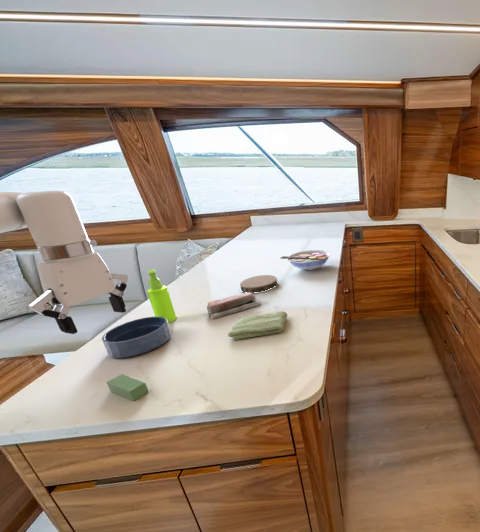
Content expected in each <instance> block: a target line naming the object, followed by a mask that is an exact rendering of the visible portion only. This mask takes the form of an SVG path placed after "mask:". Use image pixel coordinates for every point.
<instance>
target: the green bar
mask: <svg viewBox="0 0 480 532" xmlns="http://www.w3.org/2000/svg"><path fill="white" fill-rule="evenodd" d="M106 386H107V387H108V389H109V392H110V393H113V394H116V395H118V396H119V397H120V396H121V397H123V398H125V399H128V400H130V401H133V402H135V401H137V400H138V399H140V398H141V397H143V396H145V395H146V394H148V393H149V389H148V386H147V384H146V382H144V381H143V380H139V379H137V378H133V377H131V376H128V375H125V374H123V373H121V374H119V375H117V376H115V377H114V378H112V379H110V380H108V381H106Z"/></svg>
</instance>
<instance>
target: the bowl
mask: <svg viewBox="0 0 480 532" xmlns="http://www.w3.org/2000/svg"><path fill="white" fill-rule="evenodd" d="M169 323H170V322H169ZM169 323H168V320H167V319H166V318H164V317H155V316H147V317H142V318H137V319H133V320H130V321H127V322H124V323H122V324H119V325H117V326H114V327H113V328H111V329H110V330H108V331H106V332H105V333H103V336H102V337H101V341H102V343H103V346H104V348H105V351H106V353H107V355H108V356H109V357H112V358H131V357H137V356H139V355H143V354H147V353H149V352H151V351H153V350H155V349H157V348H159V347H161V346H162V345H164V344H165V343H166V342H168V341H169V340H170V338H171V337H172V333H173V332H172V330H171V327H170V324H169Z"/></svg>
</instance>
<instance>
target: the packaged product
mask: <svg viewBox="0 0 480 532" xmlns="http://www.w3.org/2000/svg"><path fill="white" fill-rule="evenodd" d="M254 294H255V293H250V292H247V293H244V292H242V293H240V294H235V295H230V296H227V297H224V298H219V299H215V300H212V301H209V302H207V306H206V310H207V312H208V315H210V317H211V319H213V320H214V319H217V318H221V317H223V316H227V315H230V314H235V313H239V312H242V311H244V310H247V309H251V308H254V307H258V306H261V301H260V300H259V299H258V298H257V297H256V296H255V295H254Z"/></svg>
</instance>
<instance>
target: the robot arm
mask: <svg viewBox="0 0 480 532" xmlns="http://www.w3.org/2000/svg"><path fill="white" fill-rule="evenodd" d="M27 228H28V231H29V233H30V235H31V237H32V239H33V241H34V243H35V246H36V248H37V251H38V252H39V255H40V257H41V259H42V261H39V262H37V267H38V274H39V279H40V282H41V286H42V288H43V293H42V294H41V295H39V297H37V298H36V299H35V300H34V301H33V302H31V303H29V304H28V309H30V310H31V311H34V312H35V313H36V314H38V315H40V316H43V317H47V318H50V319H51V318H52V319H54V320H55V322H56V324H57V326H58V328H59V330H60V331H61V332H62V333H65V334H70V335H75V334H78V332H79V331H78V329H77V326H76V324H75V322H74V320H73V318H72V316H69V315H68V314H69V312H70V311H71V308H72V307H74V306H77V305H81V304H83V303H85V302H89V301H91V300H94V299H97V298H100V297H103V296H105V295H108V296H109V297H108V300H109V302H110V306H111V308H112V310H113V312H114V313H115V312H116V313H122V314H123V313H126V312H127V309H126V303H125V300H124V297H123V296H124V295H125V293H124V292H125V290H126V288H127V287H128V286H127V283H128V278H129V276H128V275H127V274H122V273H121V274H120V273H111V272H110V269H109V267H108V266H107V264H106V262H105V261H104V259H103V258H102V256H101V255H100V254H99V252H98V251H94V247H96V246H97V245H98V242H97V240H95V239H90V238H89V237H88V234H87V232H86V229H85V226H84V224H83V221H82V219H81V216H80V213H79V211H78V208H77V205H76V203H75V201H74V199H73V197H72V195H71V194H70V193H69V192H67V191H64V190H43V191H29V192H16V191H0V234H5V233H9V232H13V231H19V230H22V229H27ZM115 280H117V284H116V283H115ZM47 303H49V304H50V305H51V306H53V308H52V309H49V308H47V307H46V305H47Z"/></svg>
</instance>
